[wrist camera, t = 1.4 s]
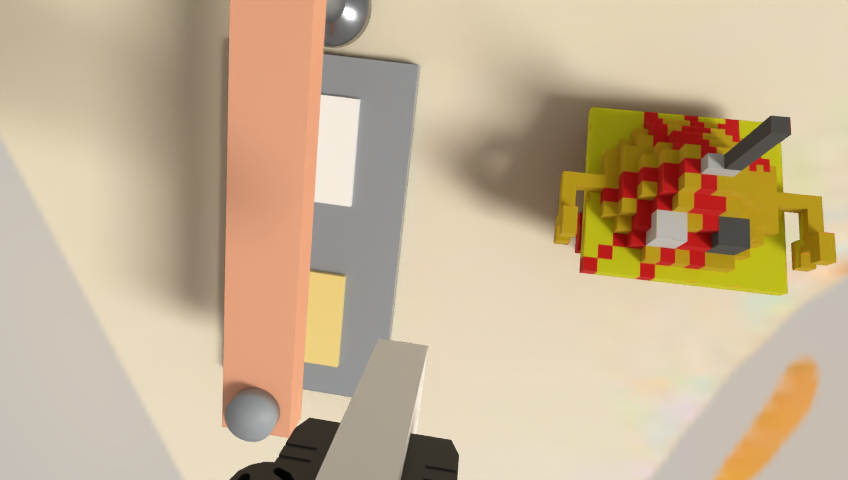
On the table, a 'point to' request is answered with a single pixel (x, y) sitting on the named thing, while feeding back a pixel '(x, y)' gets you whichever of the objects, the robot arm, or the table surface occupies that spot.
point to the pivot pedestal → (348, 24)
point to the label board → (357, 215)
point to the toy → (688, 203)
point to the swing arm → (270, 207)
